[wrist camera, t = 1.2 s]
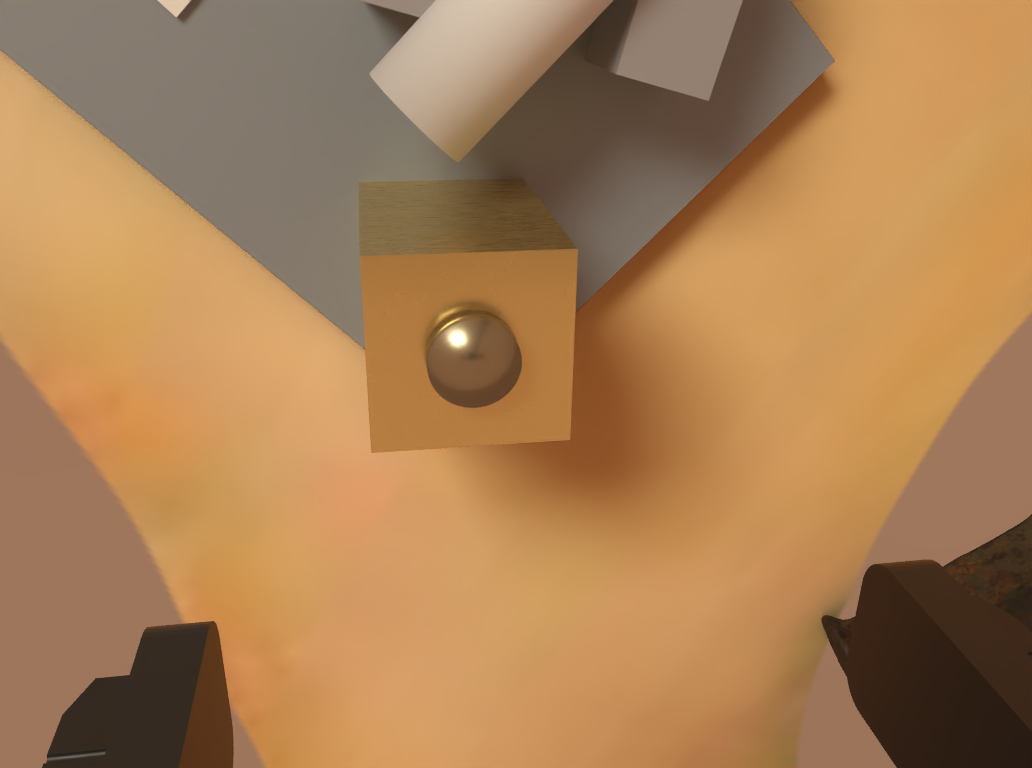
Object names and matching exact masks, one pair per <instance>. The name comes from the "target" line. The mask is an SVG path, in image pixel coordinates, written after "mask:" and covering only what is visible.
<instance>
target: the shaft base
mask: <svg viewBox="0 0 1032 768" xmlns="http://www.w3.org/2000/svg"><path fill="white" fill-rule="evenodd" d="M0 50H1V51H2V52H4V53H5V54H6V55H7V56H8V57H10V58H11V59H12V60H13V61H15V62H16V63H17V64H18V65H19V66H21V67H22V68H23V69H24V70H26V71H27V72H28V73H29V74H30V75H32V76H33V77H34V78H35V79H36V80H38V81H39V82H40V83H41V84H43V85H44V86H45V87H46V88H47V89H49V90H50V91H51V92H52V93H54V94H55V95H56V96H57V97H58V98H60V99H61V100H62V101H63V102H64V103H66V104H67V105H68V106H69V107H71V108H72V109H73V110H74V111H75V112H77V113H78V114H79V115H80V116H82V117H83V118H84V119H85V120H86V121H88V122H89V123H90V124H91V125H92V126H94V127H95V128H96V129H97V130H99V131H100V132H101V133H102V134H103V135H105V136H106V137H107V138H108V139H110V140H111V141H112V142H113V143H114V144H116V145H117V146H118V147H119V148H120V149H122V150H123V151H124V152H125V153H127V154H128V155H129V156H130V157H131V158H133V159H134V160H135V161H136V162H138V163H139V164H140V165H141V166H142V167H144V168H145V169H146V170H147V171H148V172H150V173H151V174H152V175H153V176H155V177H156V178H157V179H158V180H159V181H161V182H162V183H163V184H164V185H166V186H167V187H168V188H169V189H170V190H172V191H173V192H174V193H175V194H176V195H178V196H179V197H180V198H181V199H183V200H184V201H185V202H186V203H187V204H189V205H190V206H191V207H192V208H194V209H195V210H196V211H197V212H198V213H200V214H201V215H202V216H203V217H204V218H206V219H207V220H208V221H209V222H211V223H212V224H213V225H214V226H215V227H217V228H218V229H219V230H220V231H222V232H223V233H224V234H225V235H226V236H228V237H229V238H230V239H231V240H232V241H234V242H235V243H236V244H237V245H239V246H240V247H241V248H242V249H243V250H245V251H246V252H247V253H248V254H250V255H251V256H252V257H253V258H254V259H256V260H257V261H258V262H259V263H260V264H262V265H263V266H264V267H265V268H267V269H268V270H269V271H270V272H271V273H273V274H274V275H275V276H276V277H278V278H279V279H280V280H281V281H282V282H284V283H285V284H286V285H287V286H288V287H290V288H291V289H292V290H293V291H295V292H296V293H297V294H298V295H299V296H301V297H302V298H303V299H304V300H306V301H307V302H308V303H309V304H310V305H312V306H313V307H314V308H315V309H316V310H318V311H319V312H320V313H321V314H323V315H324V316H325V317H326V318H327V319H329V320H330V321H331V322H332V323H334V324H335V325H336V326H337V327H338V328H340V329H341V330H342V331H343V332H344V333H346V334H347V335H348V336H349V337H351V338H352V339H353V340H354V341H355V342H357V343H358V344H359V345H360V346H362V347H363V348H364V349H365V337H364V320H363V304H362V287H361V270H360V249H359V202H358V182H373V181H418V180H463V179H508V178H523V179H524V180H525V181H526V183H527V184H528V185H529V187H530V188H531V189H532V190H533V192H534V193H535V194H536V196H537V197H538V198H539V199H540V201H541V202H542V203H543V205H544V206H545V207H546V208H547V210H548V211H549V212H550V214H551V215H552V216H553V217H554V219H555V220H556V221H557V223H558V224H559V225H560V226H561V228H562V229H563V230H564V232H565V233H566V234H567V235H568V237H569V238H570V239H571V241H572V242H573V243H574V244H575V246H576V247H577V248H578V262H577V287H576V312H577V311H578V310H579V309H580V308H581V307H582V306H583V305H584V304H585V303H586V302H587V301H588V300H589V299H590V298H591V297H592V296H593V295H594V294H595V293H596V292H597V291H598V290H599V289H600V288H601V287H602V286H603V285H604V284H605V283H606V282H607V281H609V280H610V279H611V278H612V277H613V276H614V275H615V274H616V273H617V272H618V271H619V270H620V269H621V268H622V267H623V266H624V265H625V264H626V263H627V262H628V261H629V260H630V259H631V258H632V257H633V256H634V255H635V254H636V253H637V252H638V251H639V250H640V249H641V248H643V247H644V246H645V245H646V244H647V243H648V242H649V241H650V240H651V239H652V238H653V237H654V236H655V235H656V234H657V233H658V232H659V231H660V230H661V229H662V228H663V227H664V226H665V225H666V224H667V223H668V222H669V221H670V220H671V219H672V218H673V217H674V216H676V215H677V214H678V213H679V212H680V211H681V210H682V209H683V208H684V207H685V206H686V205H687V204H688V203H689V202H690V201H691V200H692V199H693V198H694V197H695V196H696V195H697V194H698V193H699V192H700V191H701V190H702V189H703V188H704V187H705V186H706V185H707V184H708V183H710V182H711V181H712V180H713V179H714V178H715V177H716V176H717V175H718V174H719V173H720V172H721V171H722V170H723V169H724V168H725V167H726V166H727V165H728V164H729V163H730V162H731V161H732V160H733V159H734V158H735V157H736V156H737V155H738V154H739V153H740V152H741V151H743V150H744V149H745V148H746V147H747V146H748V145H749V144H750V143H751V142H752V141H753V140H754V139H755V138H756V137H757V136H758V135H759V134H760V133H761V132H762V131H763V130H764V129H765V128H766V127H767V126H768V125H769V124H770V123H771V122H772V121H773V120H774V119H775V118H777V117H778V116H779V115H780V114H781V113H782V112H783V111H784V110H785V109H786V108H787V107H788V106H789V105H790V104H791V103H792V102H793V101H794V100H795V99H796V98H797V97H798V96H799V95H800V94H801V93H802V92H803V91H804V90H805V89H806V88H807V87H808V86H810V85H811V84H812V83H813V82H814V81H815V80H816V79H817V78H818V77H819V76H820V75H821V74H822V73H823V72H824V71H825V70H826V69H827V68H828V67H829V66H830V65H831V64H832V63H833V62H834V61H835V60H834V59H833V57H832V56H831V55H830V53H829V52H828V50H827V49H826V48H825V46H824V45H823V44H822V42H821V41H820V40H819V38H818V37H817V36H816V34H815V33H814V32H813V30H812V29H811V28H810V26H809V25H808V24H807V22H806V21H805V20H804V18H803V17H802V16H801V14H800V13H799V12H798V10H797V9H796V8H795V6H794V5H793V3H792V2H791V1H790V0H0ZM576 312H575V313H576Z"/></svg>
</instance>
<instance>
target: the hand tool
mask: <svg viewBox="0 0 1032 768" xmlns="http://www.w3.org/2000/svg"><path fill="white" fill-rule="evenodd" d="M943 568H944V569H945V570H946V571H947V572H948V573H949V574H950V575H951V576H952V577H953V578H954V579H955V580H956V581H957V582H958V583H959V584H960V585H961V586H962V587H963V588H964V589H965V590H966V591H967V592H968V593H969V594H970V595H971V596H980V597H982V598H983V599H985V600H987V601H988V602H990V603H992V604H993V605H995V606H997V607H998V608H1000V609H1002V610H1004V611H1005V612H1007V613H1009V614H1010V615H1012V616H1014V617H1015V618H1017V619H1019V620H1020V621H1021V622H1022V623H1023V624H1024V625H1025V626H1026V627H1027V628H1028V629H1029V630H1030V631H1031V632H1032V515H1030V516H1029V517H1028V518H1027V519H1026V520H1024V521H1023V522H1021V523H1020V524H1019V525H1017V526H1015V527H1013V528H1012V529H1010V530H1008V531H1006V532H1005V533H1003V534H1001V535H1000V536H998V537H996V538H994V539H993V540H991V541H989V542H987V543H985V544H983V545H982V546H980V547H978V548H976V549H974V550H972V551H970V552H969V553H967V554H964V555H962V556H960V557H958V558H957V559H955V560H953V561H952V562H950V563H948V564H947V565H945V566H944V567H943ZM821 620H822V624H823V627H824V629H825V631H826V634H827V636H828V639H829V642H830V644H831V646H832V648H833V650H834V652H835V655H836V657H837V659H838V662H839V663H840V665H841V667H842V669H843V670H844V672H845V674H846V676H847V669H846V667H847V656H848V651H849V646H850V641H851V636H852V631H853V626H854V621H855V617H853V618H851V619H848V620H841V619H837V618H834V617H831V616H828V615H824V616H823V617H822V619H821Z"/></svg>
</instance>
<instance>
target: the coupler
mask: <svg viewBox="0 0 1032 768" xmlns="http://www.w3.org/2000/svg"><path fill="white" fill-rule="evenodd" d="M358 202H359V249H360V270H361V287H362V304H363V320H364V337H365V354H366V370H367V387H368V404H369V420H370V437H371V453H377V452H392V451H407V450H423V449H438V448H453V447H469V446H484V445H500V444H515V443H530V442H546V441H561V440H570V436H571V411H572V386H573V361H574V336H575V312H576V287H577V262H578V248H577V247H576V246H575V244H574V243H573V242H572V241H571V239H570V238H569V237H568V235H567V234H566V233H565V232H564V230H563V229H562V228H561V226H560V225H559V224H558V223H557V221H556V220H555V219H554V217H553V216H552V215H551V214H550V212H549V211H548V210H547V208H546V207H545V206H544V205H543V203H542V202H541V201H540V199H539V198H538V197H537V196H536V194H535V193H534V192H533V190H532V189H531V188H530V187H529V185H528V184H527V183H526V181H525V180H524V179H523V178H508V179H463V180H418V181H373V182H358Z"/></svg>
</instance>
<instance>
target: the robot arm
mask: <svg viewBox="0 0 1032 768" xmlns="http://www.w3.org/2000/svg"><path fill="white" fill-rule="evenodd" d="M846 669H847V679H848V685H849V689H850V693H851V696H852V698H853V701H854V703H855V705H856V707H857V709H858V711H859V712H860V714H861V715H862V717H863V718H864V720H865V721H866V723H867V724H868V726H869V727H870V729H871V730H872V732H873V733H874V735H875V736H876V738H877V739H878V740H879V742H880V743H881V745H882V746H883V748H884V749H885V751H886V752H887V754H888V755H889V757H890V758H891V760H892V761H893V763H894V764H895V765H896V767H897V768H1032V632H1031V631H1030V630H1029V629H1028V628H1027V627H1026V626H1025V625H1024V624H1023V623H1022V622H1021V621H1020V620H1019V619H1017V618H1015V617H1014V616H1012V615H1010V614H1009V613H1007V612H1005V611H1004V610H1002V609H1000V608H998V607H997V606H995V605H993V604H992V603H990V602H988V601H987V600H985V599H983V598H982V597H980V596H971V595H970V594H969V593H968V592H967V591H966V590H965V589H964V588H963V587H962V586H961V585H960V584H959V583H958V582H957V581H956V580H955V579H954V578H953V577H952V576H951V575H950V574H949V573H948V572H947V571H946V570H945V569H944V568H943V567H942V566H941V565H940V564H939V563H937V562H935V561H933V560H916V561H906V562H895V563H883V564H874V565H872V566H870V567H869V568H868V569H867V571H866V573H865V575H864V578H863V582H862V587H861V592H860V597H859V601H858V607H857V611H856V616H855V621H854V626H853V631H852V636H851V641H850V646H849V651H848V656H847V667H846ZM42 768H233V727H232V719H231V712H230V705H229V698H228V691H227V685H226V678H225V671H224V664H223V658H222V651H221V644H220V638H219V632H218V628H217V625H216V623H215V622H214V621H210V622H199V623H187V624H176V625H165V626H155V627H147V628H146V629H145V630H144V632H143V635H142V637H141V641H140V644H139V647H138V650H137V653H136V657H135V660H134V663H133V667H132V669H131V673H130V675H127V676H116V677H105V678H96V679H95V680H94V681H93V682H92V683H91V684H90V685H89V686H88V688H87V689H86V690H85V691H84V692H83V693H82V694H81V695H80V696H79V697H78V698H77V700H76V701H75V702H74V703H73V704H72V705H71V706H70V707H69V708H68V709H67V710H66V712H65V713H64V714H63V715H62V717H61V720H60V723H59V725H58V728H57V730H56V733H55V736H54V738H53V741H52V743H51V746H50V749H49V751H48V754H47V763H46V764H43V767H42Z"/></svg>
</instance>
